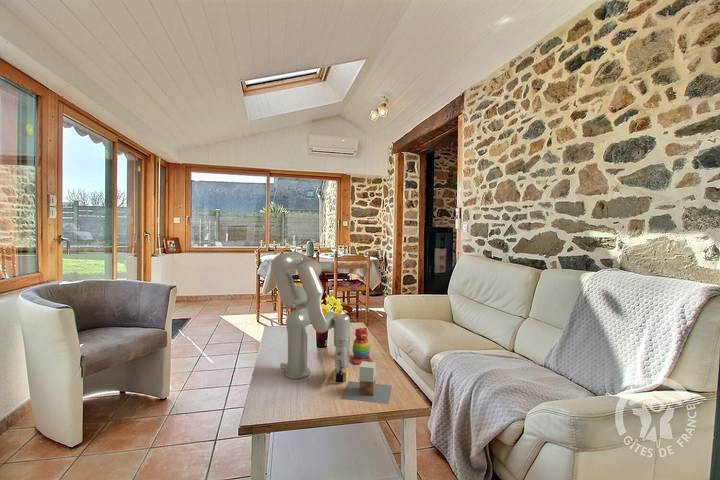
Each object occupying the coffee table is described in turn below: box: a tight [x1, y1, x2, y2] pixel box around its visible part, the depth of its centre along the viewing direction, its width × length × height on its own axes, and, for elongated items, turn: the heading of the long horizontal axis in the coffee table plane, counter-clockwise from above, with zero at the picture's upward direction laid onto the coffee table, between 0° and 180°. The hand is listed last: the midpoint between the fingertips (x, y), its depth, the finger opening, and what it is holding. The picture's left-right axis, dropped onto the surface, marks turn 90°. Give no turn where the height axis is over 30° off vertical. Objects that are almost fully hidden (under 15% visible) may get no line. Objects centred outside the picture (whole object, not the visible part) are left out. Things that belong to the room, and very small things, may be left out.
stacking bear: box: [351, 327, 373, 366], centre depth 182 cm, size 11×10×18 cm
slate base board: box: [340, 380, 393, 405], centre depth 145 cm, size 20×16×2 cm
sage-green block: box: [358, 361, 376, 382], centre depth 145 cm, size 6×6×6 cm
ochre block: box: [332, 366, 350, 383], centre depth 157 cm, size 6×6×6 cm
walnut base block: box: [359, 377, 376, 396], centre depth 145 cm, size 6×6×6 cm
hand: (341, 377), depth 157 cm, fingers open, 9 cm apart
